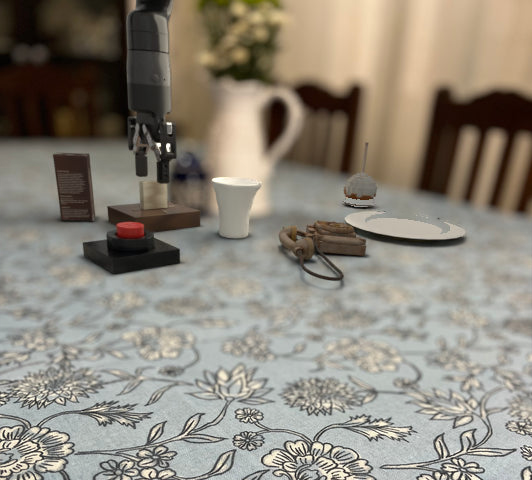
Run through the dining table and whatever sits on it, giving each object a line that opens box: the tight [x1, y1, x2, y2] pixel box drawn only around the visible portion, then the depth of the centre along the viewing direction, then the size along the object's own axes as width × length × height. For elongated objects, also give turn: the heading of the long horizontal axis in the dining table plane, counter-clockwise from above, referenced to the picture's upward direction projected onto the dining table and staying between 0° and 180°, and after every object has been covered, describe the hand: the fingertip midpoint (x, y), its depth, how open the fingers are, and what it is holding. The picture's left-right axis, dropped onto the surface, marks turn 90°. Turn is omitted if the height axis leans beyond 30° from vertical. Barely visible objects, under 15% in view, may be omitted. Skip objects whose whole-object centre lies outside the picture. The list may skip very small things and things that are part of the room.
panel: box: [106, 200, 201, 233], centre depth 100 cm, size 14×11×3 cm
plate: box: [344, 210, 467, 243], centre depth 108 cm, size 25×25×2 cm
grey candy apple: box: [342, 141, 378, 207], centre depth 128 cm, size 8×8×15 cm
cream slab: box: [138, 179, 168, 210], centre depth 98 cm, size 5×2×5 cm, turn 129°
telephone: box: [278, 220, 367, 282], centre depth 87 cm, size 15×33×4 cm, turn 5°
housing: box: [82, 228, 181, 275], centre depth 79 cm, size 11×10×4 cm
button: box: [115, 222, 144, 238], centre depth 77 cm, size 4×4×2 cm
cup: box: [211, 176, 262, 239], centre depth 95 cm, size 9×9×10 cm
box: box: [52, 152, 96, 222], centre depth 98 cm, size 6×4×12 cm
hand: (152, 179), depth 97 cm, fingers open, 8 cm apart
